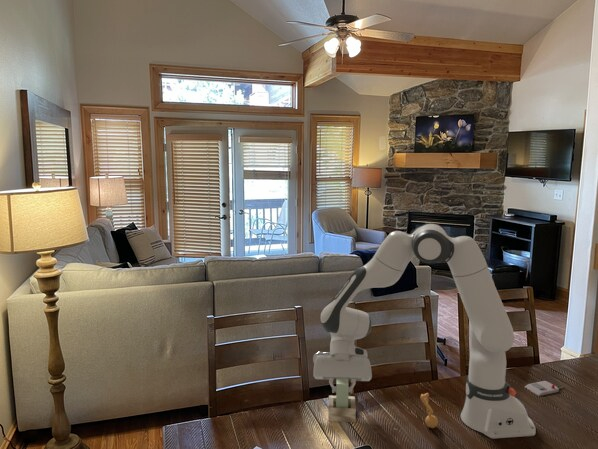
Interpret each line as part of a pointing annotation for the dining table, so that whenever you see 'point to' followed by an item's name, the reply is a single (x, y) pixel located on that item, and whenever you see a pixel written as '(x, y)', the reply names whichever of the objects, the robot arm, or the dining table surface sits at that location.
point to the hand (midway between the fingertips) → (342, 392)
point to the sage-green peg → (342, 393)
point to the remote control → (542, 388)
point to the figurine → (430, 419)
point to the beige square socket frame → (342, 410)
